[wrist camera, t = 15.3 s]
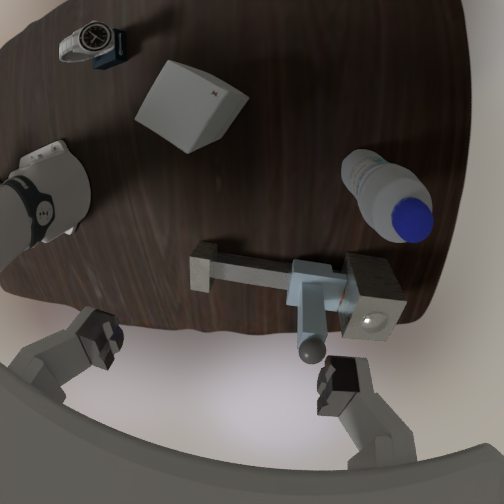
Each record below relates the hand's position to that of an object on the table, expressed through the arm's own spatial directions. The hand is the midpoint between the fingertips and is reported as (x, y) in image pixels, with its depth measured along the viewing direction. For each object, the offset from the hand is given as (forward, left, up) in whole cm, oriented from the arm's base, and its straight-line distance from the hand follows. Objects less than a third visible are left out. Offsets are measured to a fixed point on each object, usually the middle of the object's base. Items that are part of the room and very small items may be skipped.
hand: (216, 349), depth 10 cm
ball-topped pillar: (+9, -16, -30) cm, 35 cm away
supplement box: (-9, +8, -31) cm, 34 cm away
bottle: (+12, +2, -31) cm, 34 cm away
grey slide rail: (+5, -15, -31) cm, 35 cm away
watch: (-26, +18, -31) cm, 44 cm away
